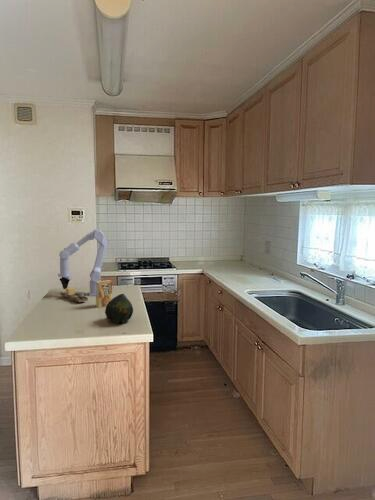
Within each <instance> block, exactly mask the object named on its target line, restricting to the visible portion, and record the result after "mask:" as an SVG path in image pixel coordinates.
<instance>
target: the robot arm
mask: <svg viewBox="0 0 375 500" xmlns="http://www.w3.org/2000/svg"><path fill="white" fill-rule="evenodd" d="M93 240H96V241H97V243H98V245H99V246H98V249H97V254H96V257H95V260H94V265H93V268H92V270H91V272H90V273H89V277H90V280H89V293H88V294H89V297H94V296H95V297H96V282H99V281H102V280H101V277H102V275H101V272H102V266H103V262H104V257H105V254H106V250H107V247H108V242H107V239H106V236H105V234H104V233H103V231H102V230H100V229H93V230H92V231H91V232H89V233H87V234H86V235H84V236H83V237H82V238H81V239H79V240H78V241H76V242H72V243H69V245H68V246H67V247H64V248H63V249H62V250H61V251H59V254H58V255H59V257H60V258H59V273H57V274H58V275H57V276H58V277H59V281H60V283H61V285H62V289H63V290H66V288H69V287H68V286H69V283H70V281H71V280H72V279H73V276H72V275H71V274H70V262H69V257H70V256H72V255H73V254H75V253H76V252H77V251H78V252H79V250H80V247H81V246H83V245H84V244H86V243H87V242H88V241H93Z"/></svg>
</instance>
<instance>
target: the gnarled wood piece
mask: <svg viewBox="0 0 375 500" xmlns="http://www.w3.org/2000/svg"><path fill="white" fill-rule="evenodd" d="M59 293H60V296H61V297H62V296H63V297H65V298H67V301H68V302H72V301H75V302H78V303H81V302H86V301H88V300H89V299H88V296H85V293H83V292H79V293H76V292H74V294H73V295H68V294H66V291H65V292H62V291H60V292H59Z"/></svg>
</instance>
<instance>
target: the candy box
mask: <svg viewBox="0 0 375 500" xmlns="http://www.w3.org/2000/svg"><path fill="white" fill-rule="evenodd" d="M112 299H113V281H112V280H110V279H109V280H108V279H106V280H101V281H99V282H96V296H95V303H96V304H95V306H96V307H97V308H99V309H100V308H106V306H107V304H108V303H109V302H110V301H111V300H112Z"/></svg>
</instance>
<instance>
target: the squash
mask: <svg viewBox="0 0 375 500" xmlns="http://www.w3.org/2000/svg"><path fill="white" fill-rule="evenodd" d="M133 307H134V306H133V305H132V303H131V301H130V300H129V299H128V298H127V296H126V295H125V294H124V293H121V294H118V295H116V296H114V297H112V300H111V301H110V302H109V303H108V304H107V306H106V307H105V309H104V313H105V317H106V318H107V319H108V320H109V321H113V323H115V324H119V323H121V324H122V323H125V322H126V321H129V320H131V319H132V316H133V314H134V308H133Z"/></svg>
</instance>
